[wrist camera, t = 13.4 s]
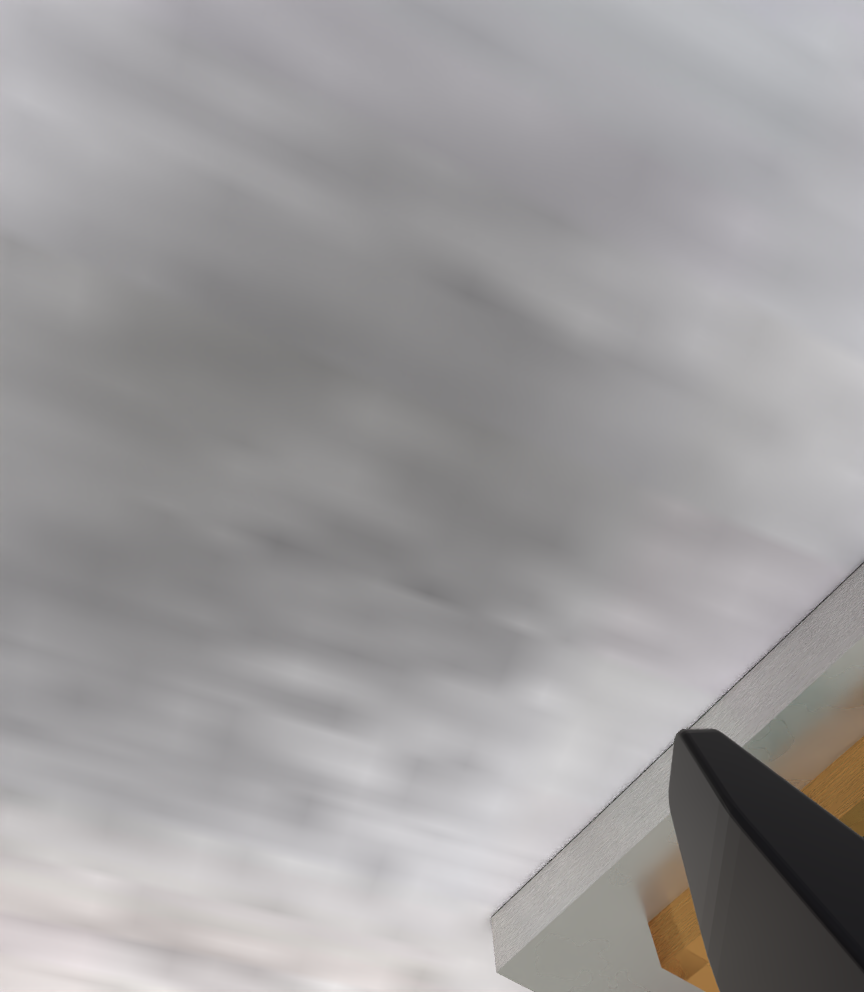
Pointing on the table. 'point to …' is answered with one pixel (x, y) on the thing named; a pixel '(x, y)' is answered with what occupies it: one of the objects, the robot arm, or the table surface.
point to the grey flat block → (651, 835)
